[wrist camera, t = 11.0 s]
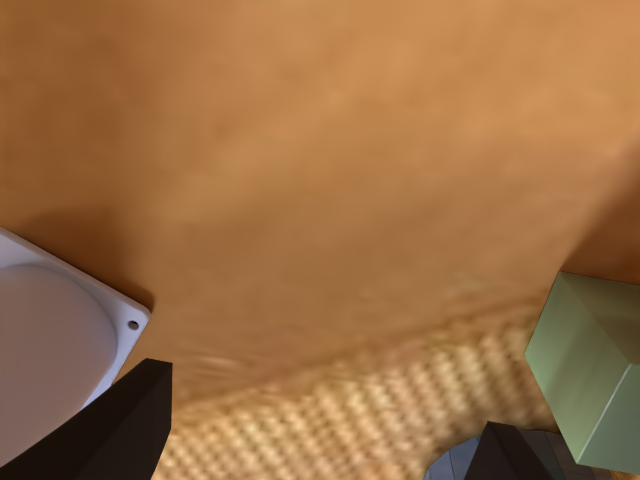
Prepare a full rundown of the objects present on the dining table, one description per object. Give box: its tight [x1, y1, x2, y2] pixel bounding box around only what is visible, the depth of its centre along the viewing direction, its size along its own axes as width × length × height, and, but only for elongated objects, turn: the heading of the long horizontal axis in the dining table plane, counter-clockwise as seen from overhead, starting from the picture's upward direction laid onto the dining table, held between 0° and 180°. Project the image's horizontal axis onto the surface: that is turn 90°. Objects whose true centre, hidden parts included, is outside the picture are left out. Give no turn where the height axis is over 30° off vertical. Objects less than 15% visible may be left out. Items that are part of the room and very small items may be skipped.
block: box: [524, 272, 640, 475], centre depth 18 cm, size 4×4×6 cm
